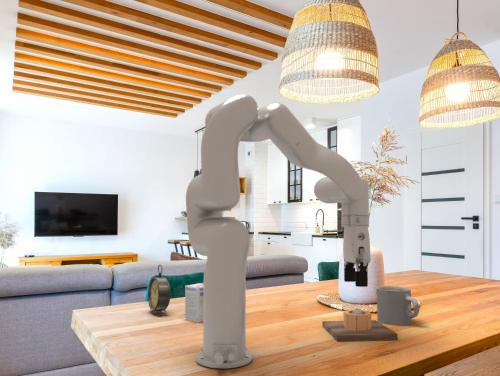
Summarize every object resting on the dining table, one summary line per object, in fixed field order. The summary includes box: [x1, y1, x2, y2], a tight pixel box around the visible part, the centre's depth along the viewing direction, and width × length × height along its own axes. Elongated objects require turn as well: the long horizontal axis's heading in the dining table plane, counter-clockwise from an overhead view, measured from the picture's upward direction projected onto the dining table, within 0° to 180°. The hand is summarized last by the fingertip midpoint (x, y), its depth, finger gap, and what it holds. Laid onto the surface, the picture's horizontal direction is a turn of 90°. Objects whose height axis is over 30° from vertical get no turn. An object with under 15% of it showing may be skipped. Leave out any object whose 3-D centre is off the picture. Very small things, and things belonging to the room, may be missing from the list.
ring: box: [342, 309, 372, 331], centre depth 114 cm, size 7×7×4 cm
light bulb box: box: [184, 282, 204, 324], centre depth 131 cm, size 11×7×11 cm, turn 141°
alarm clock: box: [147, 264, 172, 317], centre depth 138 cm, size 11×5×16 cm, turn 31°
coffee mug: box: [376, 285, 420, 327], centre depth 125 cm, size 13×10×10 cm
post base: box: [321, 308, 399, 342], centre depth 114 cm, size 15×16×6 cm
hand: (355, 283), depth 114 cm, fingers open, 9 cm apart
